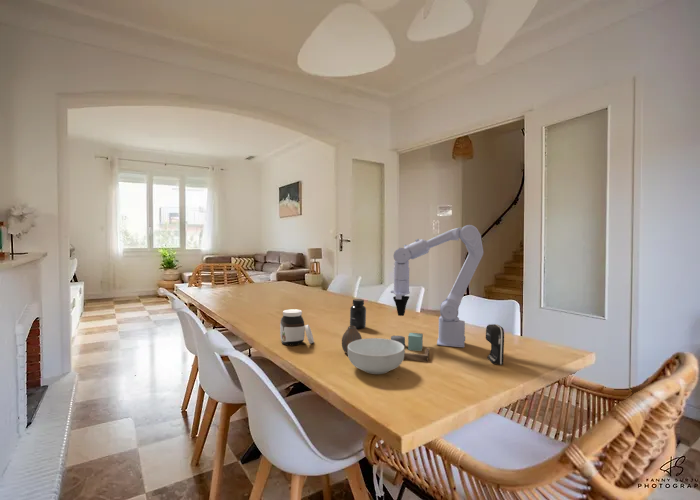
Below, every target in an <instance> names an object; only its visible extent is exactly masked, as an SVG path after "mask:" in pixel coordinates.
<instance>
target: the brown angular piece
mask: <svg viewBox="0 0 700 500" xmlns="http://www.w3.org/2000/svg"><path fill="white" fill-rule="evenodd" d="M429 355H430V348H427V347H425V351H424V353H420V354H419V353H414V352H413V353H412V352H405V353H404V359H403V360H408V361H418V362H419V361H420V362H428V361H429V357H430V356H429Z"/></svg>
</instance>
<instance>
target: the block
mask: <svg viewBox="0 0 700 500" xmlns="http://www.w3.org/2000/svg"><path fill="white" fill-rule="evenodd" d="M423 335H424V333H420V332H409V333H408V335H407V337H408V339H407V344H408V345H407V346H408V347H407V350H408V351H414V352H415V351H416V352H422V350H423V348H424V347H423V345H424V344H423V342H424V341H423Z"/></svg>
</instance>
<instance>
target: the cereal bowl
mask: <svg viewBox="0 0 700 500" xmlns="http://www.w3.org/2000/svg"><path fill="white" fill-rule="evenodd" d="M404 353H406V350H405V346H404V345H403V344H402V343H400V342H398V341H394V340H391V338H390V339H389V338H381V337H378V338H377V337H374V338H373V337H371V338H362V339H360V340H356V341H353V342H351V343H349V344H348V354H347V356H348V360H349V362H350V363H351V364H352V365H353V366H354V367H356V368H357V369H359V370H361V371H363V372H365V373H367V374H371V375H383V374H387V373H389V371H393V370H395V369H397V368H398V367H400V365H402V363H403V361H404V360H405V359H404Z"/></svg>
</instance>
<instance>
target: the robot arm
mask: <svg viewBox="0 0 700 500" xmlns="http://www.w3.org/2000/svg"><path fill="white" fill-rule="evenodd" d="M460 240H461V242H462V243H463V244H464V245H465V249H466V250H467V252H468V254H467V256H466V259H465V261H464V263H463V265H462V267H461V269H460V271H459V273H458V275H457V277H456V279H455V282H454V283H453V286H452V288H451V290H450V292H449V293H448V295H447V297H446V299H445V300H443V301H442V302H441V303H440V305H439V306H440V307H439V309H440V310H439V314H440V316H439V317H438V338H437V340H436V345H437V346H444V347H453V348H454V347H455V348H465V342H466V336H465V335H466V333H465V332H466V331H465V330H466V327H465V326H466V325H465V324H466V323H465V322H466V321H465V320H461V319H460V317H458V316H459V307H460V305H461V303H462V301H463V297H464V295H465V293H466V291H467V288H468V286H469V285H470V283H471V281H472V278H473V277H474V275H475V272H476V270H477V269H478V266H479V264H480V262H481V260H482V258H483V256H484V247H483V242H482V235H481V233H480V231H479V230H478V227H476V226H474V225H472V224H467V225H464V226H463V227H462V226H460V227H456V228H452V229H449V230H446V231H445V232H443V233H440V234H438V235H436V236H434V237H432V238H430V239H427V240H426V239H424V238H417V239H415V240H414V241H413V242H411V243H409V244H404V245H403V247H399V248H397V249H396V250H395V251H394V253H393V259H394V263H393V265H394V267H393V290H390V293H391V294H394V296H393V298H392V299H393V301H394V304H395V306H396V313H397V316H399V317H404V316H405V313H406V309H407V307H406V306H407V303H408V301H409V299H410V296H409V295H410V267H409V266H410V265H409V264H410V260H415V259H417V258H419V257H421V256H424V255H427V254H428V253H429V252H430V249H431V248H434V247H437V246H439V245H441V244H444V243H447V242H449V241H460Z"/></svg>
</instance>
